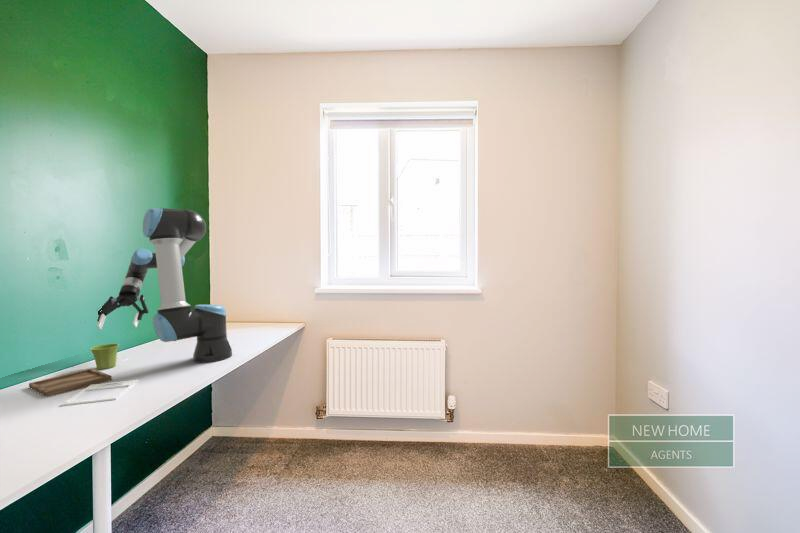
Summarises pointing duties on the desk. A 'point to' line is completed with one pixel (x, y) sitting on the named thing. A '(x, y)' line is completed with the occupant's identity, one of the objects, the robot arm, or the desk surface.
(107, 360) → the plant pot
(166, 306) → the robot arm
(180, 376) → the desk surface
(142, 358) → the desk surface
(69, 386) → the walnut tray
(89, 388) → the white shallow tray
